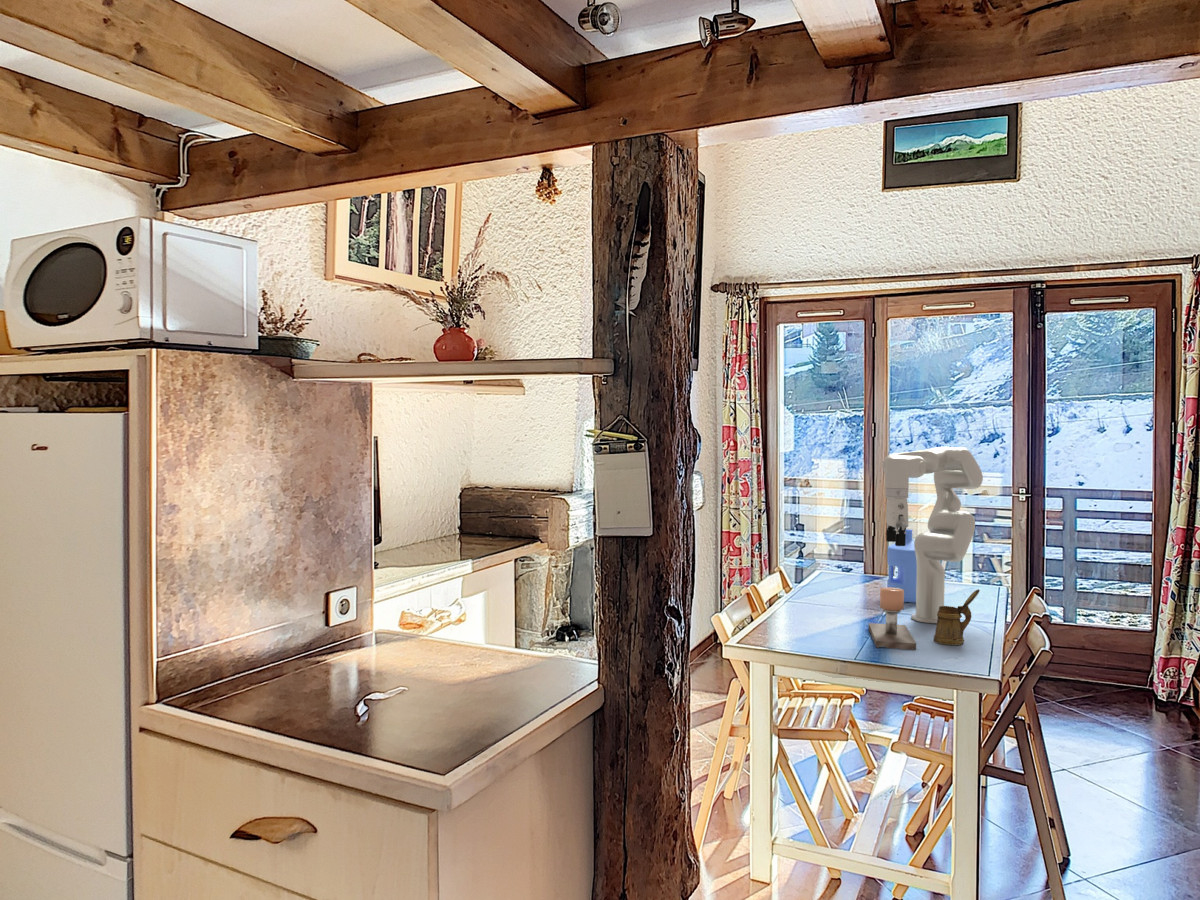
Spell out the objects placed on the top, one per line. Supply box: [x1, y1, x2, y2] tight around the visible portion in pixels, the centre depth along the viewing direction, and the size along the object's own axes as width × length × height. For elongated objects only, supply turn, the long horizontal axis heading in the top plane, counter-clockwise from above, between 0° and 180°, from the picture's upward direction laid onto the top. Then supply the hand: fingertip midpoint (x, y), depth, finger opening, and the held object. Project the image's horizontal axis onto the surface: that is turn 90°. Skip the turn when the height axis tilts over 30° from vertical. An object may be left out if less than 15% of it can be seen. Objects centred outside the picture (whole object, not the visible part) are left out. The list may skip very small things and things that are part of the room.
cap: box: [879, 586, 905, 611], centre depth 276 cm, size 7×7×6 cm
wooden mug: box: [933, 589, 980, 646], centre depth 271 cm, size 9×14×18 cm, turn 69°
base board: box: [868, 622, 917, 651], centre depth 276 cm, size 12×24×2 cm, turn 168°
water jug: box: [886, 529, 917, 604], centre depth 337 cm, size 16×16×28 cm
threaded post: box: [882, 609, 902, 634], centre depth 276 cm, size 6×6×8 cm
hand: (895, 543), depth 283 cm, fingers open, 9 cm apart
